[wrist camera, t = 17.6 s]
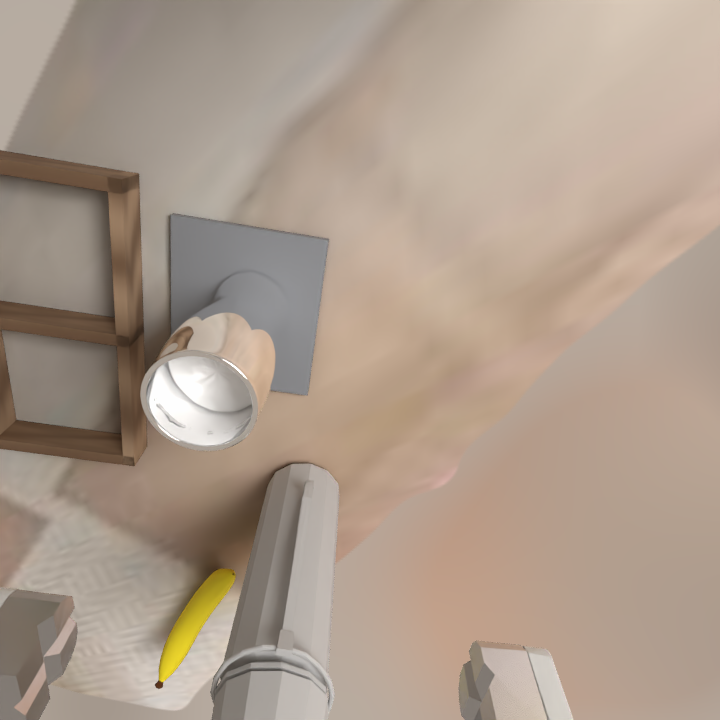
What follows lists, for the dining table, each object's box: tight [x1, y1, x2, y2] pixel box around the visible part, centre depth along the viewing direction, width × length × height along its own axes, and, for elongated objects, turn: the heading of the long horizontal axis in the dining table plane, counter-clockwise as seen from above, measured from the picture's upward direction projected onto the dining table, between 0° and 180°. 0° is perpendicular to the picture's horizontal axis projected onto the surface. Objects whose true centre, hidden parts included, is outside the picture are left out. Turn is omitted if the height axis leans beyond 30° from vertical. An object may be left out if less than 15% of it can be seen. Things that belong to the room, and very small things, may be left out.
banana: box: [155, 569, 236, 689], centre depth 55 cm, size 3×19×6 cm, turn 149°
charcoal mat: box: [171, 213, 329, 395], centre depth 42 cm, size 14×12×1 cm
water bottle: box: [210, 463, 339, 720], centre depth 40 cm, size 9×8×25 cm
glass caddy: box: [0, 150, 147, 466], centre depth 42 cm, size 25×13×3 cm, turn 171°
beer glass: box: [140, 272, 289, 451], centre depth 35 cm, size 7×7×15 cm
